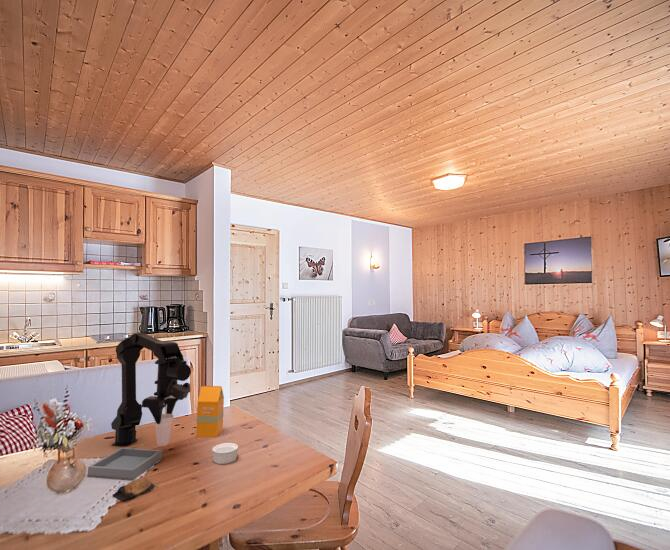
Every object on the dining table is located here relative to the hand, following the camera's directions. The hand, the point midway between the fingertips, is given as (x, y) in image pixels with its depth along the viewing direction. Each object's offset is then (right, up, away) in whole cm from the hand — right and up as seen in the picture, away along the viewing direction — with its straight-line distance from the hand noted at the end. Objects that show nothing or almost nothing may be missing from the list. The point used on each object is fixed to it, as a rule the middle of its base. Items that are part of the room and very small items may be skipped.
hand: (163, 420), depth 133 cm
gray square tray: (-8, -12, -9) cm, 17 cm away
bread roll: (+3, -12, -24) cm, 27 cm away
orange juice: (+9, -15, +23) cm, 29 cm away
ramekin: (+23, -13, -2) cm, 27 cm away
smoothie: (0, -8, -1) cm, 8 cm away
